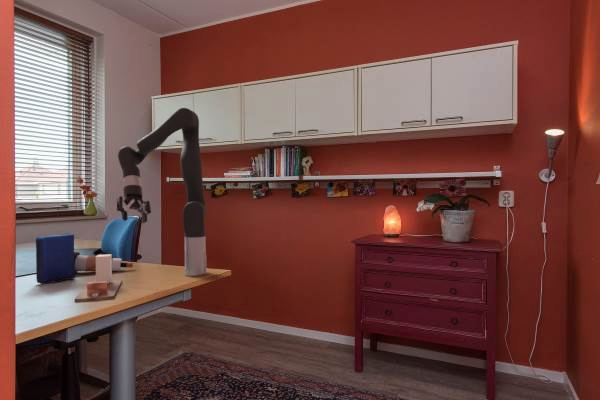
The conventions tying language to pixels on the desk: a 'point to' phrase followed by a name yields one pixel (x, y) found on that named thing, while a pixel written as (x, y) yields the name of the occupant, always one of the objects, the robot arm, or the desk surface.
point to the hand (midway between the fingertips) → (135, 221)
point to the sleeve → (104, 268)
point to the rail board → (105, 296)
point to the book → (55, 258)
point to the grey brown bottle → (90, 263)
